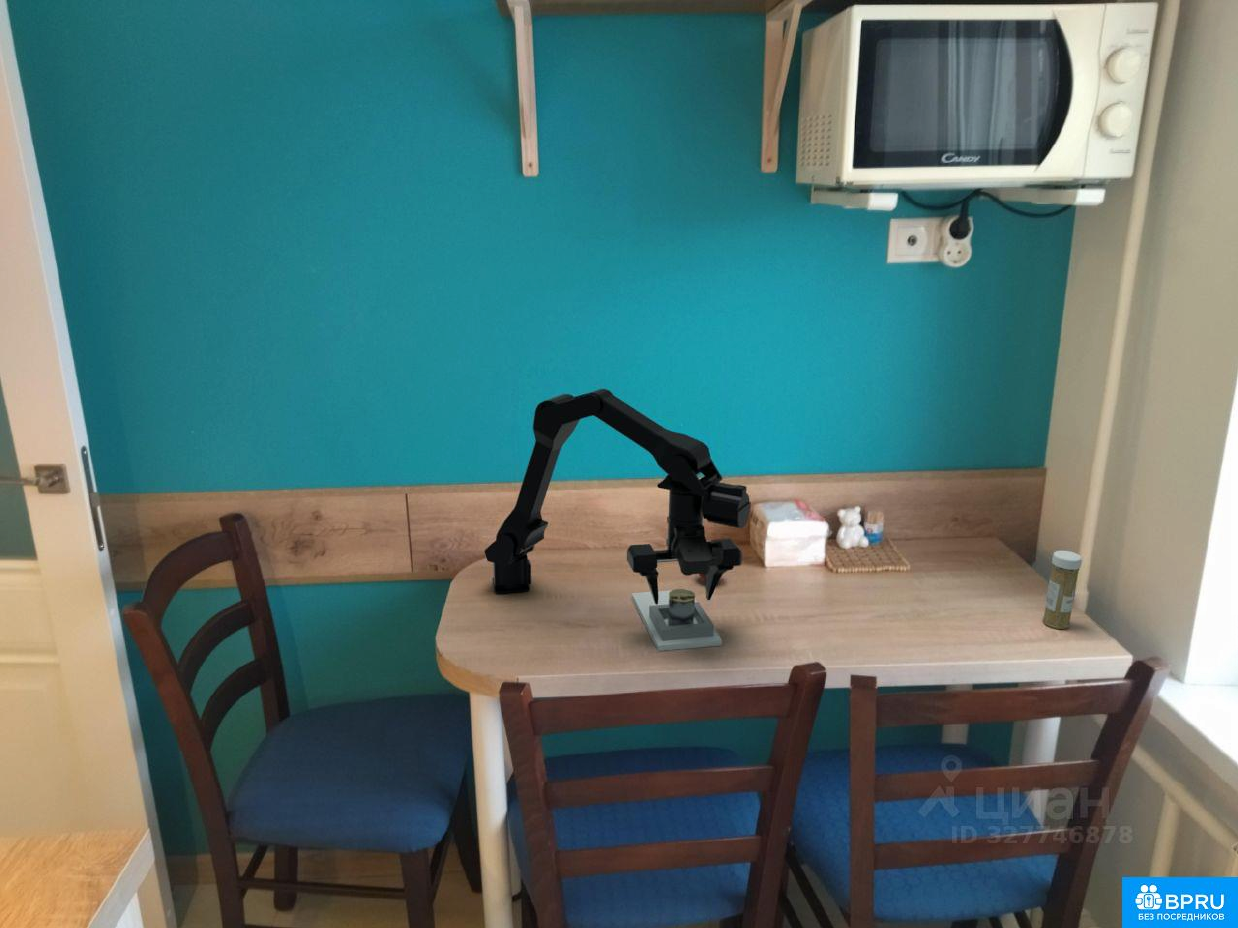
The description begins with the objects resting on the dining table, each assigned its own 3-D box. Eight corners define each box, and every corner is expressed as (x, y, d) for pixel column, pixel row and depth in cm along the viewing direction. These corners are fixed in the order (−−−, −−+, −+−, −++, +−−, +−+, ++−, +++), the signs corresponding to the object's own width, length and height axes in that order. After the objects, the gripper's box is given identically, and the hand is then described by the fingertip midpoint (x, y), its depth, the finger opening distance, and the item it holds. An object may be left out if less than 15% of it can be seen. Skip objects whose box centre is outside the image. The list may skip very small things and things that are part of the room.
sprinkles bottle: (1071, 631, 162) (1084, 561, 158) (1043, 627, 163) (1055, 557, 159) (1067, 620, 166) (1080, 551, 162) (1040, 616, 168) (1052, 548, 164)
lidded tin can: (671, 632, 157) (673, 600, 155) (664, 621, 161) (666, 589, 159) (696, 631, 158) (698, 599, 156) (689, 619, 162) (690, 588, 160)
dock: (658, 650, 153) (658, 634, 152) (631, 598, 172) (631, 583, 171) (721, 645, 155) (722, 629, 154) (688, 593, 174) (689, 579, 173)
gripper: (642, 537, 144) (639, 627, 148) (755, 530, 148) (749, 618, 152) (626, 512, 154) (625, 597, 159) (733, 506, 158) (728, 589, 163)
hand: (682, 601), depth 158 cm, fingers open, 9 cm apart
